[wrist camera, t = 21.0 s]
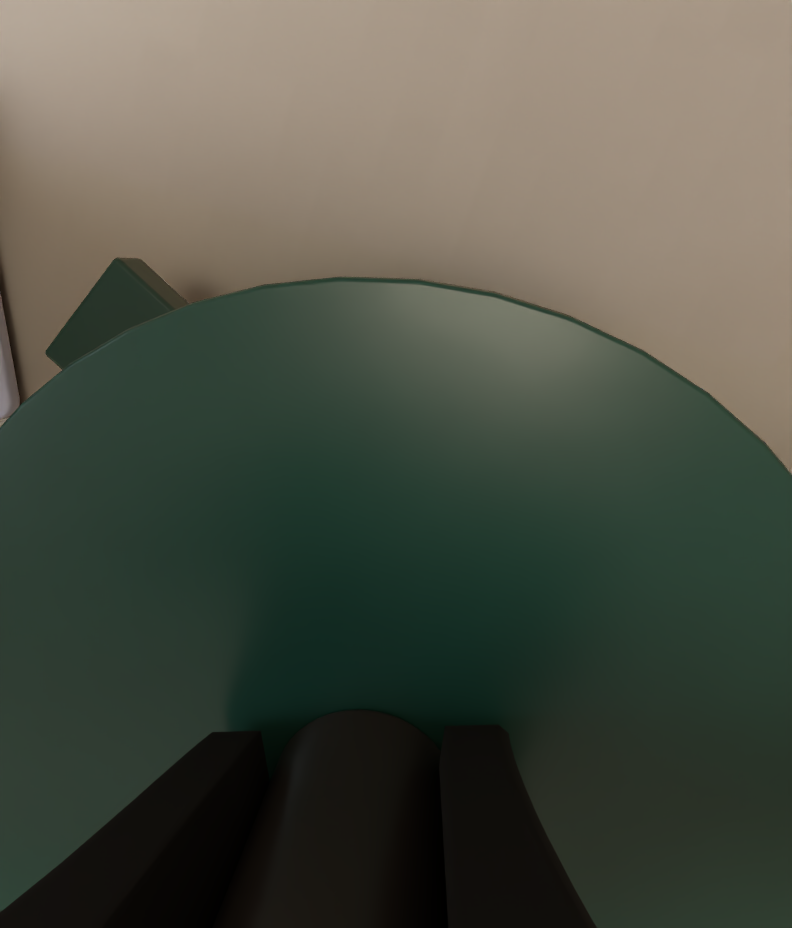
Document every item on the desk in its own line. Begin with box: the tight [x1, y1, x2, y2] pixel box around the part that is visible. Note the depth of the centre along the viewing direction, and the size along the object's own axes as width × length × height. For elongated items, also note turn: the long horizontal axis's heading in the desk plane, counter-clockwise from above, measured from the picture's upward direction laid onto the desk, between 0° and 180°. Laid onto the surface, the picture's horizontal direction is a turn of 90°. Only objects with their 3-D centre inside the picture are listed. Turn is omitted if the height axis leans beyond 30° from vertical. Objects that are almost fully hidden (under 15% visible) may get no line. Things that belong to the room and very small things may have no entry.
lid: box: [0, 277, 792, 928], centre depth 7 cm, size 12×12×5 cm
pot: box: [45, 257, 189, 370], centre depth 15 cm, size 11×16×5 cm
